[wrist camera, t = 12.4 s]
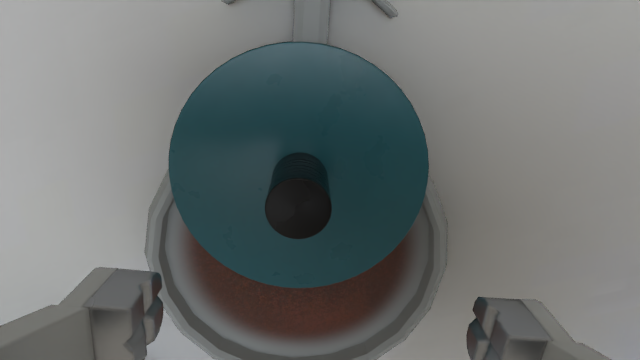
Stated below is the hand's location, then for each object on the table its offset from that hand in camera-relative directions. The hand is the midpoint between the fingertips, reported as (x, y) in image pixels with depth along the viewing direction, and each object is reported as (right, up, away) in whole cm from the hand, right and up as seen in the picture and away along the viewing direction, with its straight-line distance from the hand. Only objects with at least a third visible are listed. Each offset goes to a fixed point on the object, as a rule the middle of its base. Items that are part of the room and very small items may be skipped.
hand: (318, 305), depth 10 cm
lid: (-1, +4, +9) cm, 10 cm away
